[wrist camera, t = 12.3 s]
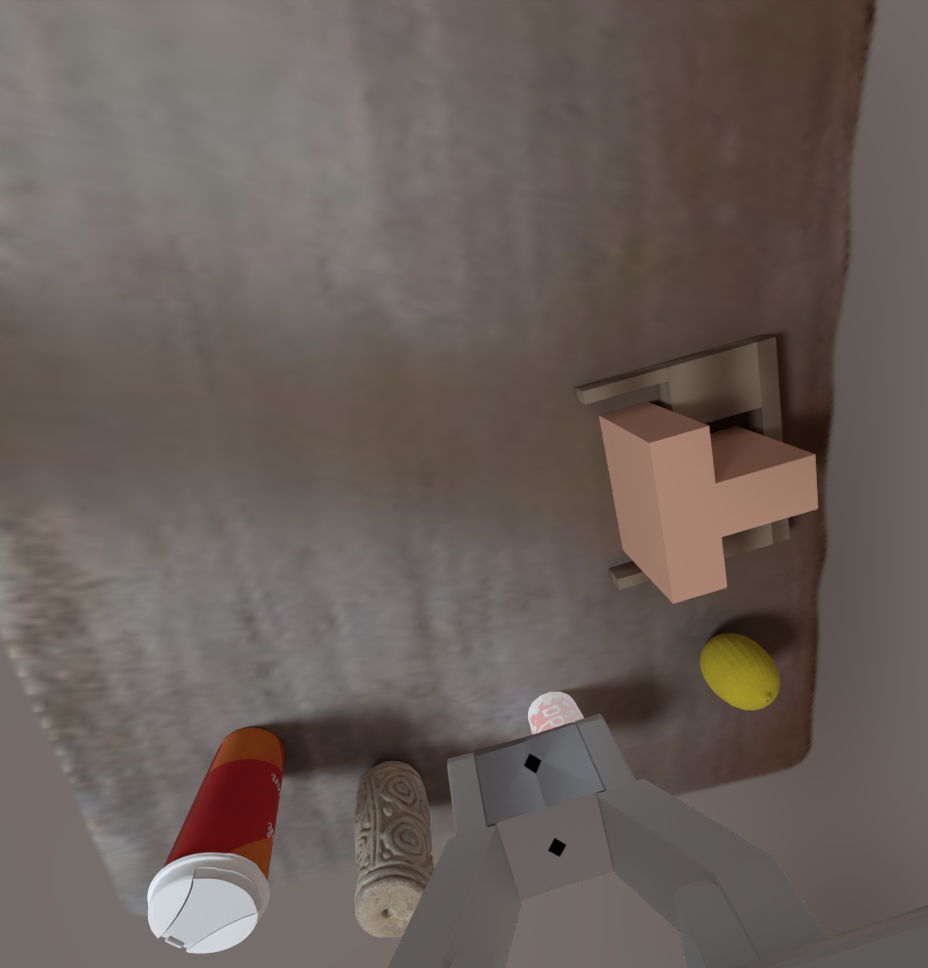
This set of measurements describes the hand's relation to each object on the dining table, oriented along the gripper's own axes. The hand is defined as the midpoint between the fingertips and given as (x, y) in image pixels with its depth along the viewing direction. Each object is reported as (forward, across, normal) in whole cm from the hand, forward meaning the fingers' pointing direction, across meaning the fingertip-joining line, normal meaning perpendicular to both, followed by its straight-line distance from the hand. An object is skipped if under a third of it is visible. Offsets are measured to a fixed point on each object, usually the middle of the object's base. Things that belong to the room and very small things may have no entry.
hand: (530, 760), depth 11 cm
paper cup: (+34, +22, +25) cm, 47 cm away
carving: (+34, +12, +32) cm, 48 cm away
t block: (+34, -19, +10) cm, 40 cm away
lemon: (+34, -20, +28) cm, 48 cm away
